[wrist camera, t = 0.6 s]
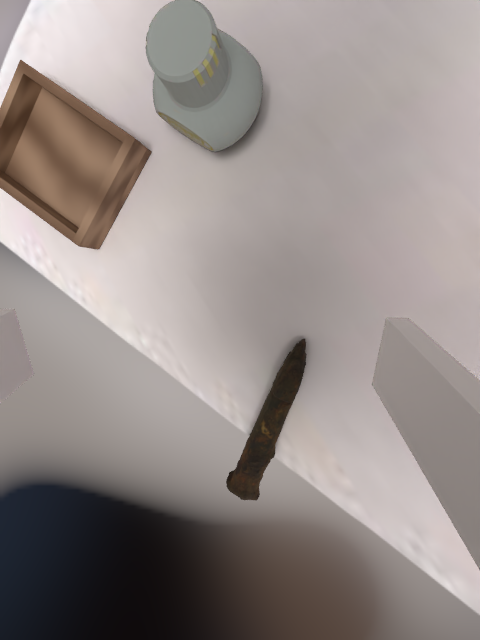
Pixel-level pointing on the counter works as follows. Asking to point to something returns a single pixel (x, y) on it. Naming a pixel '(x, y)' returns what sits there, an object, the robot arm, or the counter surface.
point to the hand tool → (268, 427)
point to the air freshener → (202, 76)
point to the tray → (65, 158)
